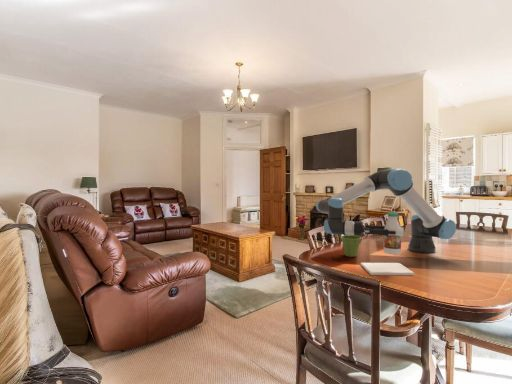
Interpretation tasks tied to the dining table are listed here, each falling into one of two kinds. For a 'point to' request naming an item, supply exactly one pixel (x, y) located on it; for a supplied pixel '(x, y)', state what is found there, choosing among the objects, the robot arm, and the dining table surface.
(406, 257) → the dining table surface
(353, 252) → the plant pot
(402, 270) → the placemat
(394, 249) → the milk bottle
